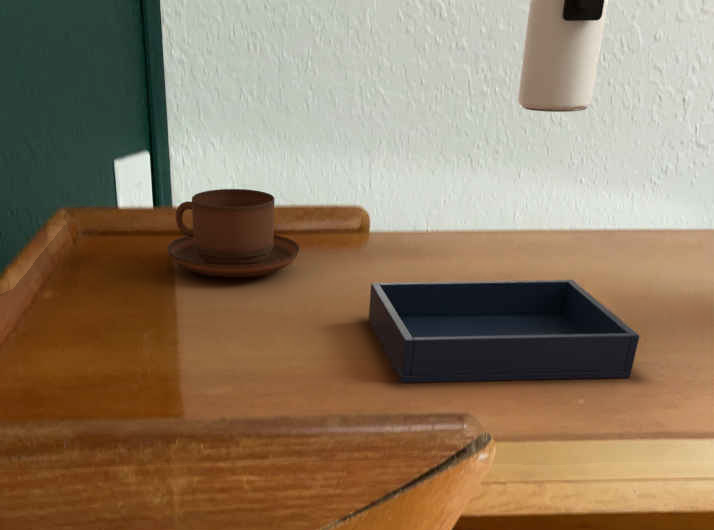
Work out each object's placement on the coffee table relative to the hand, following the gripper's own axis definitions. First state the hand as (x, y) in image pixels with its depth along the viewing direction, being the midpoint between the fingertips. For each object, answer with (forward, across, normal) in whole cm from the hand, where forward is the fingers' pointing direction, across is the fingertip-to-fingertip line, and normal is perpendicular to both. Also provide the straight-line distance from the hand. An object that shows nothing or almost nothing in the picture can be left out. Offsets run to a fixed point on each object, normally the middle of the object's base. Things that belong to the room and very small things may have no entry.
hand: (566, 16), depth 83 cm
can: (+7, 0, 0) cm, 7 cm away
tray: (+20, -26, +12) cm, 35 cm away
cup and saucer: (+20, -4, +30) cm, 36 cm away
